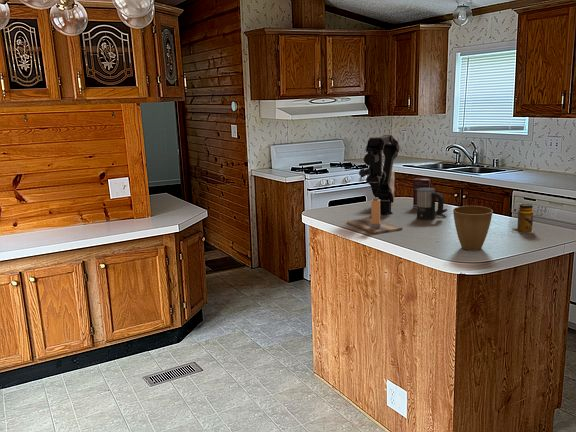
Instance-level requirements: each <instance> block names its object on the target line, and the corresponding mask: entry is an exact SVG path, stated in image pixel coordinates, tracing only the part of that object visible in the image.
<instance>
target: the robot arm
mask: <svg viewBox="0 0 576 432" xmlns="http://www.w3.org/2000/svg"><path fill="white" fill-rule="evenodd" d="M400 150H401V149H400V144H399V141H398V140H396V139H395V138H394V135H392V134H383V135H382V136H378V137H374V136H373V137H369V138H368V140H367V144H366V148H365V152H366V153H367V154H365V155H364V157H363V162H364V164H365V165H367V166H368V167H367V168H362V169H359V171H358V175H359V176H360V178H364V177H365V180H366V181H365V182H366V183H367V184H368V185H369V186H370V187H371V188H370V189H371V191H372V195H375V197H377V198H378V199H380V215H382V216H384V215H385V216H386V215H391V214H394V212H392V205H391V203H393V202H394V203H395V196H394V197H393V194H392V190H391V188H390V186H389V185H390V179H391V173H392V170H393V165H394V160H396V158H397V157H398V155H399V153H400ZM383 157H384V161H383ZM382 170H383V171H382ZM366 176H367V177H366Z"/></svg>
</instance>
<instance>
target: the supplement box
mask: <svg viewBox="0 0 576 432" xmlns="http://www.w3.org/2000/svg"><path fill="white" fill-rule="evenodd" d="M412 182H413V183H412V185H413V186H412V187H413V188H412V189H413V190H412V195H413V197H412V198H413V199H412V202H413V204H412V207H413V209H417V190H416V189H418V188H431V178H414V179H413V181H412Z"/></svg>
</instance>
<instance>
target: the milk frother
mask: <svg viewBox="0 0 576 432" xmlns="http://www.w3.org/2000/svg"><path fill="white" fill-rule="evenodd" d="M416 190H417V208H416V216H415V217H416V219H418V220H422V221H423V220H424V221H425V220H428V221H429V220H433V219H436V216H441V215H443V214H444V213H446V212H448V209H447V208H445V209H444V204H445V203H444V202H445V201H444V196H443V194H442V193H440V192H436V191H435V190H436V188H434V187H430V188H418V189H416ZM436 198H437V210H436Z"/></svg>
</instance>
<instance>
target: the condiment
mask: <svg viewBox="0 0 576 432" xmlns="http://www.w3.org/2000/svg"><path fill="white" fill-rule="evenodd" d="M533 218H534V211H533V204H530V203H521V204H519V209H518V212H517V227H516V228H515V227H512V228H511V231H512V233H516V234H517V233H518V234H519V233H521V234H534V231H533V223H534V219H533Z"/></svg>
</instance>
